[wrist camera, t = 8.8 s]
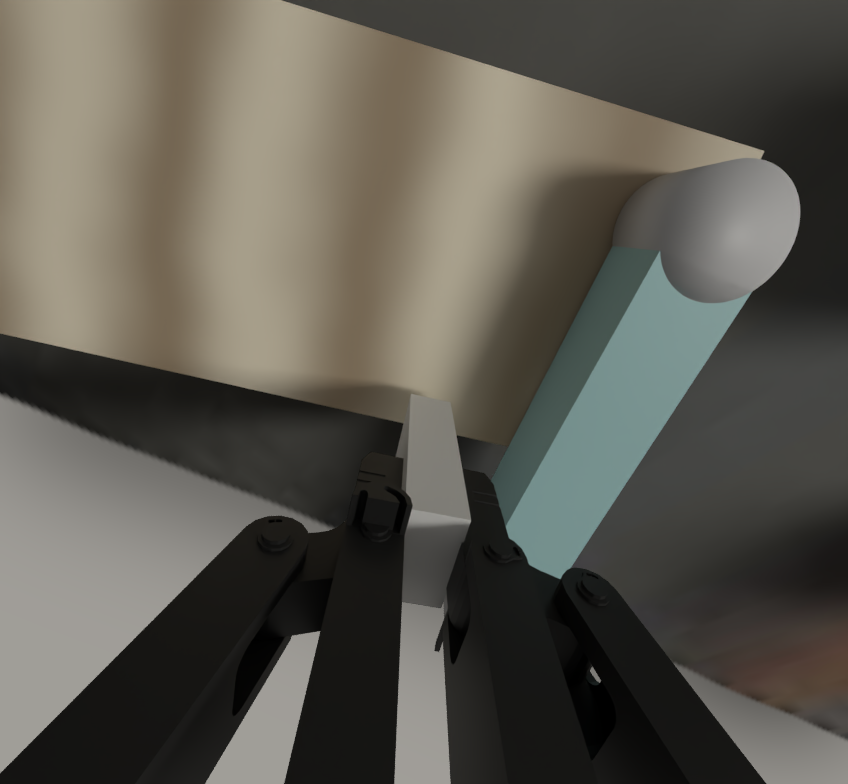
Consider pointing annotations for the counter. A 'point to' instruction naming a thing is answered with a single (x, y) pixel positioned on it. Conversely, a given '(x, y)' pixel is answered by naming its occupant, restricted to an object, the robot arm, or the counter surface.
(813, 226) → the counter surface
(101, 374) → the counter surface
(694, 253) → the hinged leg
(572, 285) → the beige flat wooden block
